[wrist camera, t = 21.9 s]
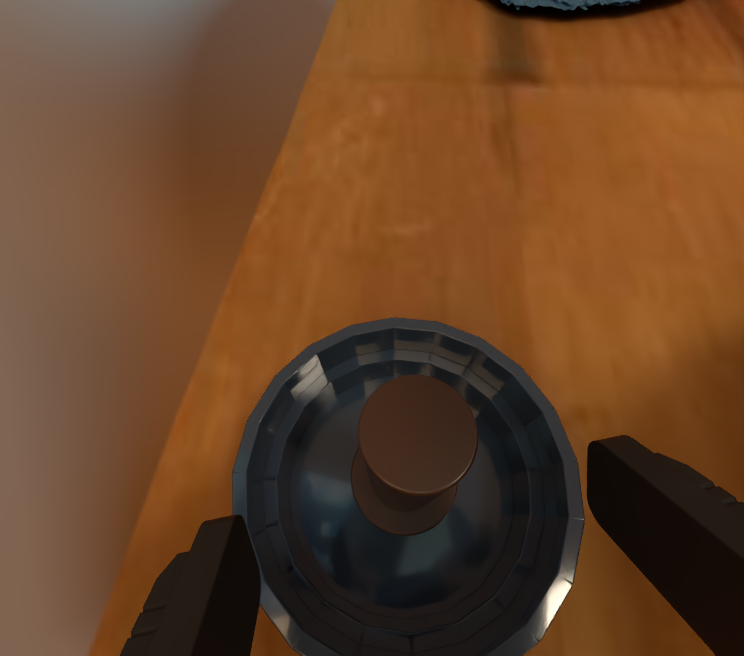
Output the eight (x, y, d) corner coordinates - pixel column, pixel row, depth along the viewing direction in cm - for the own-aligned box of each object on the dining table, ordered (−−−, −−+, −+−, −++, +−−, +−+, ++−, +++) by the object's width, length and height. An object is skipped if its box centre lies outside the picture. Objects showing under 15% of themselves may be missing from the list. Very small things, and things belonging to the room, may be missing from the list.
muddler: (363, 544, 18) (335, 562, 8) (348, 442, 20) (311, 360, 10) (462, 523, 18) (549, 515, 8) (435, 425, 20) (480, 329, 11)
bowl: (279, 681, 16) (233, 745, 11) (264, 385, 23) (230, 346, 18) (579, 611, 17) (657, 643, 12) (482, 345, 23) (507, 296, 18)
